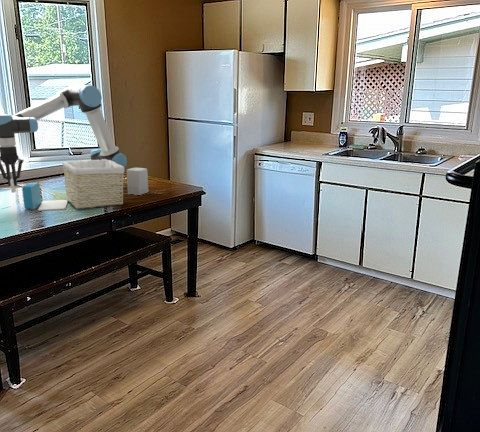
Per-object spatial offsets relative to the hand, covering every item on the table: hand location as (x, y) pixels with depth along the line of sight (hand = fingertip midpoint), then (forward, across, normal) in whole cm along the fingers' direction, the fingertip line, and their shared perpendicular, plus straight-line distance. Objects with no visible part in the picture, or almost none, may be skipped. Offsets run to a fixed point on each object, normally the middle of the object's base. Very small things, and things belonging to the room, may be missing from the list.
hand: (13, 191), depth 228 cm
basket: (+8, +39, +2) cm, 40 cm away
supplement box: (+9, +64, +18) cm, 67 cm away
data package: (+9, +8, 0) cm, 12 cm away
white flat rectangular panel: (+8, +18, 0) cm, 20 cm away
